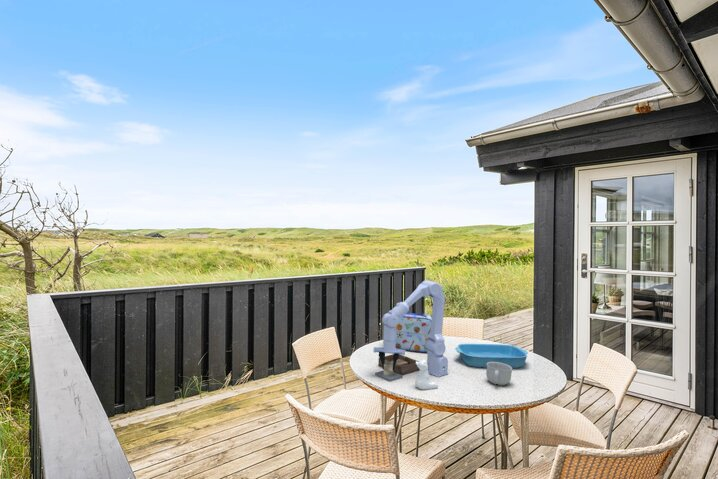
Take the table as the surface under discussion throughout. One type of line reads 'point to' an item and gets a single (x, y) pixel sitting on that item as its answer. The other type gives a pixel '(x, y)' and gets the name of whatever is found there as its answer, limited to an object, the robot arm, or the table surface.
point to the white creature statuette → (424, 377)
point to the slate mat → (388, 378)
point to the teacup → (498, 373)
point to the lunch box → (413, 332)
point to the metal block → (388, 368)
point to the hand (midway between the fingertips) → (388, 368)
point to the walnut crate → (402, 364)
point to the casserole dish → (491, 354)
